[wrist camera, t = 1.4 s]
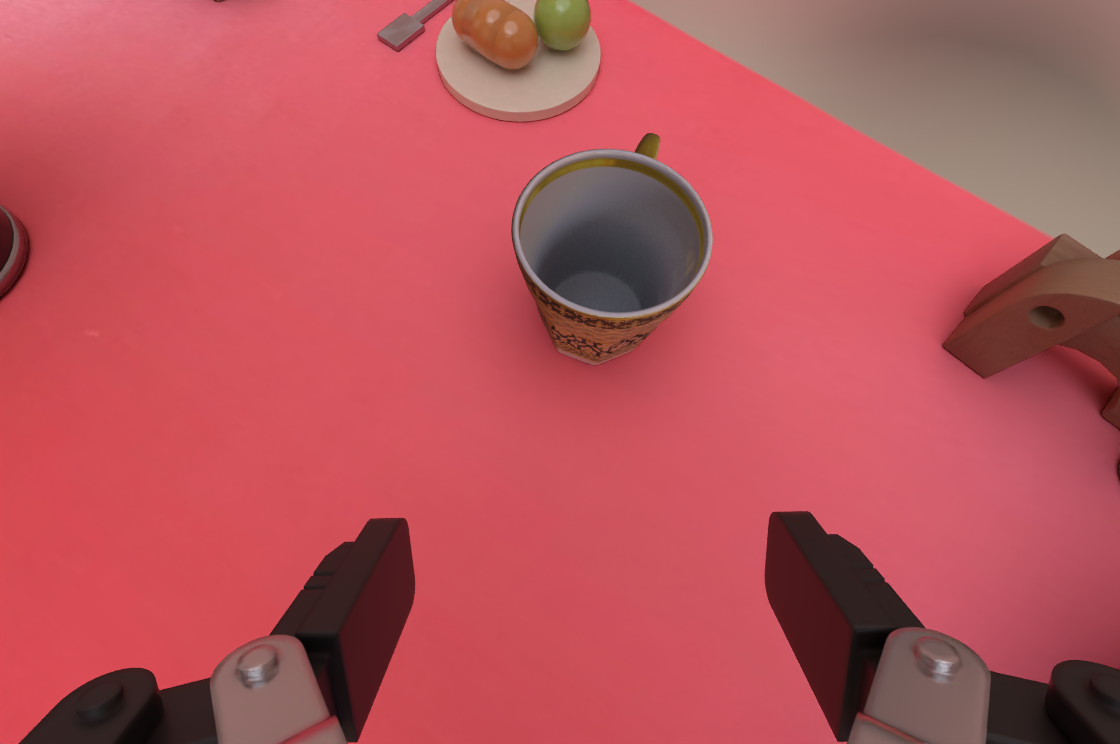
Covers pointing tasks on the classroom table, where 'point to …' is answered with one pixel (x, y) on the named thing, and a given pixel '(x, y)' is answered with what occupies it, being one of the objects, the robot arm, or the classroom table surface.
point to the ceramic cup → (609, 247)
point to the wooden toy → (1046, 313)
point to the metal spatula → (409, 25)
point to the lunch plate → (520, 85)
